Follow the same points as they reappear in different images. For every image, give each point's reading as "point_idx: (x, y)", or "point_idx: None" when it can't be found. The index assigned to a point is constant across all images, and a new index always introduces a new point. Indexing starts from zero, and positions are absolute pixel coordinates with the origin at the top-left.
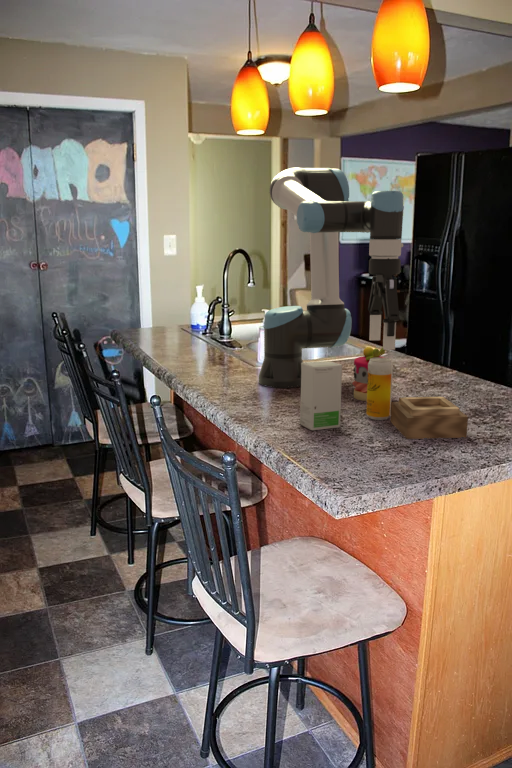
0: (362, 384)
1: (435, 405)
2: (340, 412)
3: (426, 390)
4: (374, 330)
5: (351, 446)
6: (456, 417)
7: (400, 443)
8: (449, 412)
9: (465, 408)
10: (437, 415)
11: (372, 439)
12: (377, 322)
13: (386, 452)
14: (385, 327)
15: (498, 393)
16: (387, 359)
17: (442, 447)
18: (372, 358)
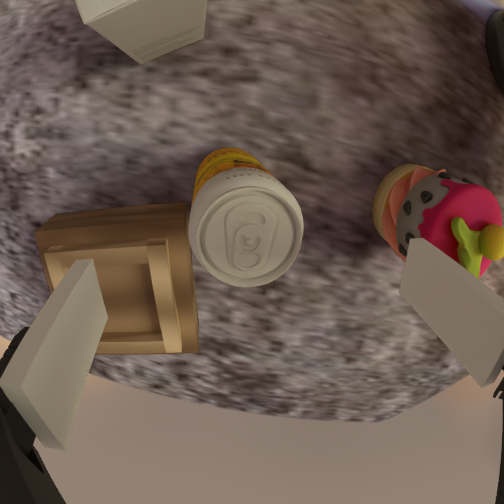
0: (409, 184)
1: (151, 321)
2: (133, 58)
3: (417, 326)
4: (438, 290)
5: (12, 92)
6: None
7: (30, 196)
8: None
9: (283, 370)
10: None
11: (49, 138)
12: (463, 336)
13: None
14: (18, 357)
15: (359, 415)
16: (265, 272)
17: (24, 270)
18: (288, 207)
